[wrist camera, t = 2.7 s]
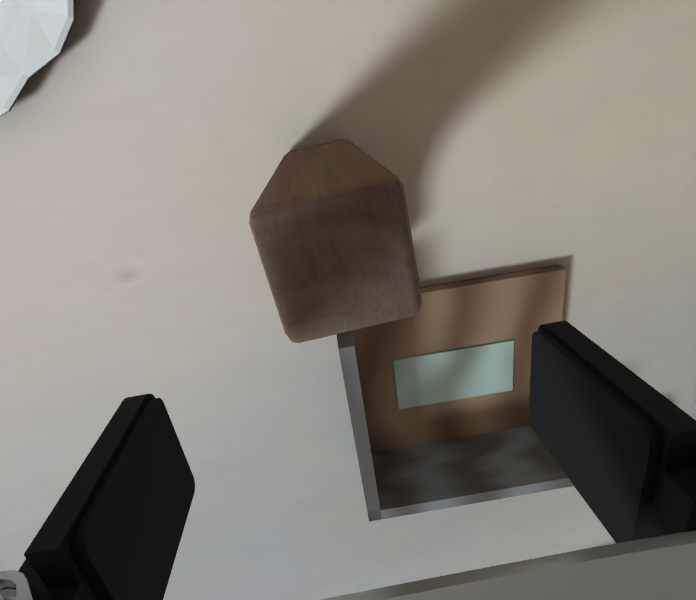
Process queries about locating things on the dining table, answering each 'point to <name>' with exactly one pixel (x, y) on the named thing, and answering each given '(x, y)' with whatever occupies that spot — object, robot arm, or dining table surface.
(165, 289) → the dining table surface
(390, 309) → the wooden block
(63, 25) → the plate
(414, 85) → the dining table surface
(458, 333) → the tray
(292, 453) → the dining table surface
